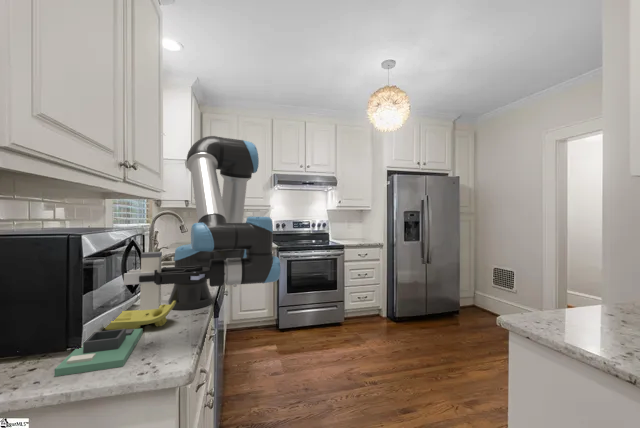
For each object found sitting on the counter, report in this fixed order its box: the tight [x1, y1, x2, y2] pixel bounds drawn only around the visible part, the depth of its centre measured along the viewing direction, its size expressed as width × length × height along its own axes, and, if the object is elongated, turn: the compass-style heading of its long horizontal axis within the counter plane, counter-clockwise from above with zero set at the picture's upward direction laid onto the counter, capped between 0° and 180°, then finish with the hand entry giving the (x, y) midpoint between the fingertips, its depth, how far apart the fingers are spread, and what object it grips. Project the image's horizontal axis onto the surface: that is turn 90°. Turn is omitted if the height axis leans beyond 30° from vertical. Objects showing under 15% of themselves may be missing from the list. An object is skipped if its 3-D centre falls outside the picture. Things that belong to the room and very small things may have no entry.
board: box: [54, 327, 144, 377], centre depth 71 cm, size 20×12×4 cm, turn 21°
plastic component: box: [104, 301, 176, 331], centre depth 90 cm, size 20×7×10 cm
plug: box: [139, 251, 163, 310], centre depth 75 cm, size 4×4×14 cm
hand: (126, 277), depth 73 cm, fingers closed on plug, 4 cm apart
